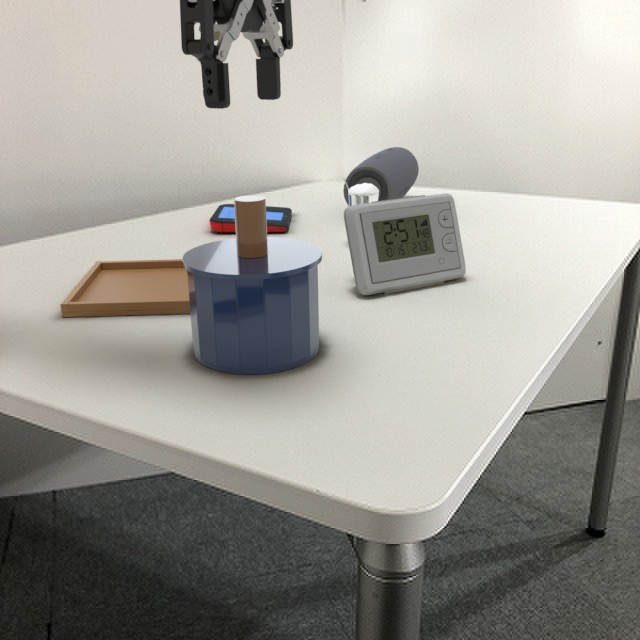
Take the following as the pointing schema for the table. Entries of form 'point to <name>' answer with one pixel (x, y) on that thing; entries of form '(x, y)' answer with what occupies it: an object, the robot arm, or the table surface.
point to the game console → (226, 219)
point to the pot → (254, 322)
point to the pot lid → (251, 249)
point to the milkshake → (362, 193)
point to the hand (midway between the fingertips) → (244, 103)
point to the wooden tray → (130, 289)
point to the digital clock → (404, 243)
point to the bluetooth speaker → (386, 173)
